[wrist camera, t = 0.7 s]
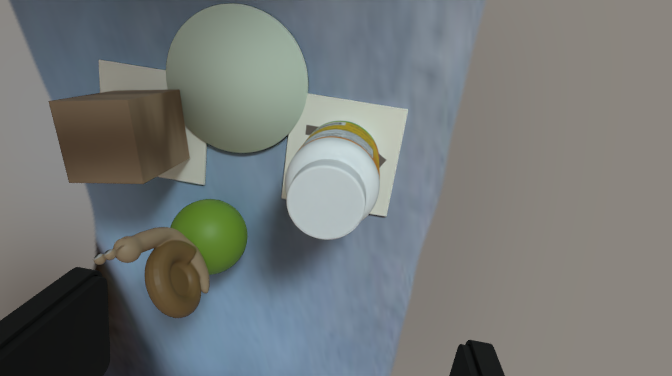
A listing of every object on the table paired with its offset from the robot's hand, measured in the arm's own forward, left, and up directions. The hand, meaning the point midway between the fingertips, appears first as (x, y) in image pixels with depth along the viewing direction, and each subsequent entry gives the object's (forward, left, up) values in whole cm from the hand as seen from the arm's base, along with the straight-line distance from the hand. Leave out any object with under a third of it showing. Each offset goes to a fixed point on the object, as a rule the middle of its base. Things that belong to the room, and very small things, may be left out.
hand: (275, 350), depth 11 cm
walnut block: (0, -14, -20) cm, 24 cm away
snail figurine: (+6, -9, -20) cm, 23 cm away
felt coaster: (-4, -8, -20) cm, 22 cm away
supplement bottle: (0, 0, -20) cm, 20 cm away
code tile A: (0, 0, -20) cm, 20 cm away
